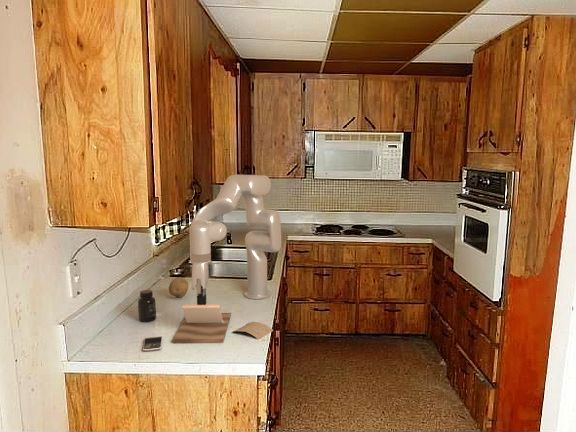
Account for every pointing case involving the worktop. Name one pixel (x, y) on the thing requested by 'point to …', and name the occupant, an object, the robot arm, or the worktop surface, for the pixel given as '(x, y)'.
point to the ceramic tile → (202, 313)
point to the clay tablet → (256, 329)
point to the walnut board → (203, 331)
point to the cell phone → (152, 344)
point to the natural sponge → (178, 287)
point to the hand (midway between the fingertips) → (201, 304)
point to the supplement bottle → (146, 306)
